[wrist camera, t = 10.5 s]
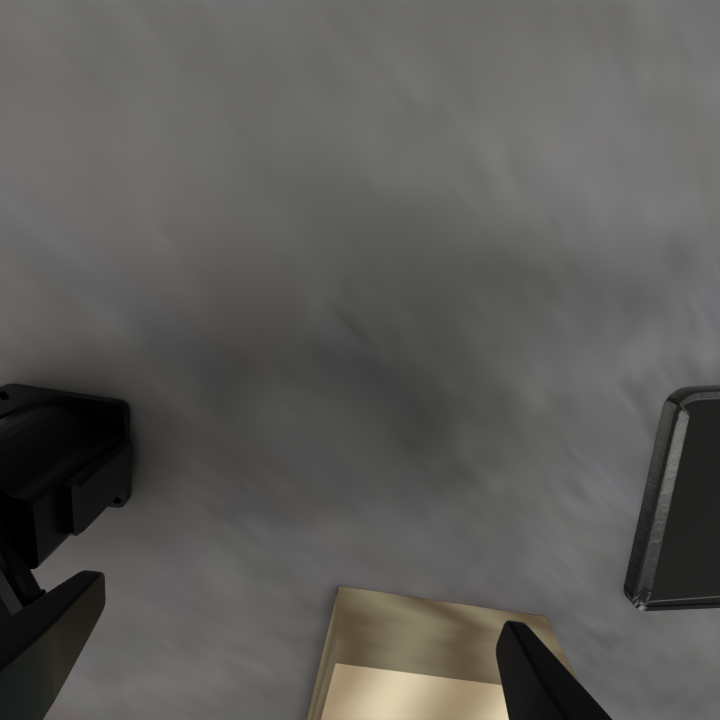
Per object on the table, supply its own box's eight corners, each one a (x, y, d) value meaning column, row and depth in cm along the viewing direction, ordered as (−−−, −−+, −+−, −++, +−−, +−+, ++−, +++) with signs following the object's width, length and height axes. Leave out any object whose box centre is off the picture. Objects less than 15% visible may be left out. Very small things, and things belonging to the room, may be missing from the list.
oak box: (304, 722, 28) (294, 821, 23) (339, 580, 24) (335, 663, 19) (481, 743, 29) (506, 842, 24) (541, 610, 25) (586, 696, 20)
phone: (629, 611, 23) (680, 393, 19) (617, 595, 24) (662, 385, 20) (751, 606, 23) (830, 387, 19) (734, 590, 24) (804, 379, 20)
